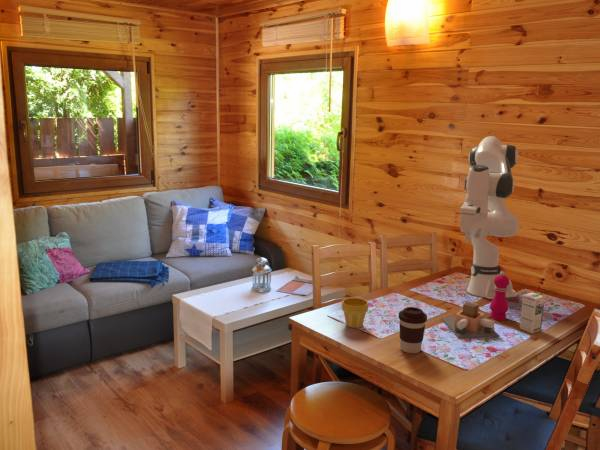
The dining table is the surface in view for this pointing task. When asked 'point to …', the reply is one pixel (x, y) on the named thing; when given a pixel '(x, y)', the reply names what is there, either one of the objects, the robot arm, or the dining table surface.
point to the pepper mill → (499, 298)
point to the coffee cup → (412, 329)
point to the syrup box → (532, 312)
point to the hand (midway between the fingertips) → (473, 239)
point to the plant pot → (354, 311)
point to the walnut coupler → (470, 309)
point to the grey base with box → (470, 326)
